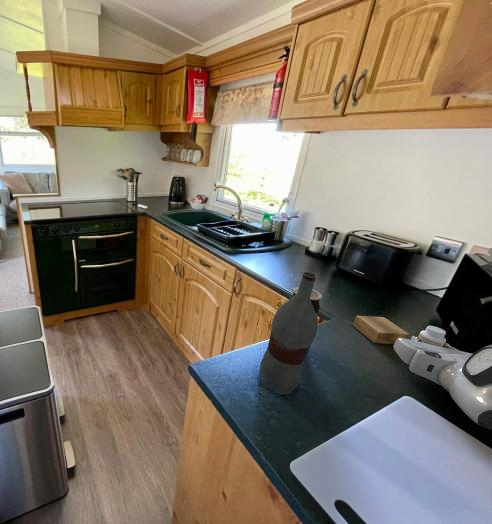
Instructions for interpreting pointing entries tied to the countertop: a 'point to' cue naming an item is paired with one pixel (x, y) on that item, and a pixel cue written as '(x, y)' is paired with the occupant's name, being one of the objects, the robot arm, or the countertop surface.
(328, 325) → the countertop surface
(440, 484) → the countertop surface
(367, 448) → the countertop surface
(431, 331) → the supplement bottle
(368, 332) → the oak block
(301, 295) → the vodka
